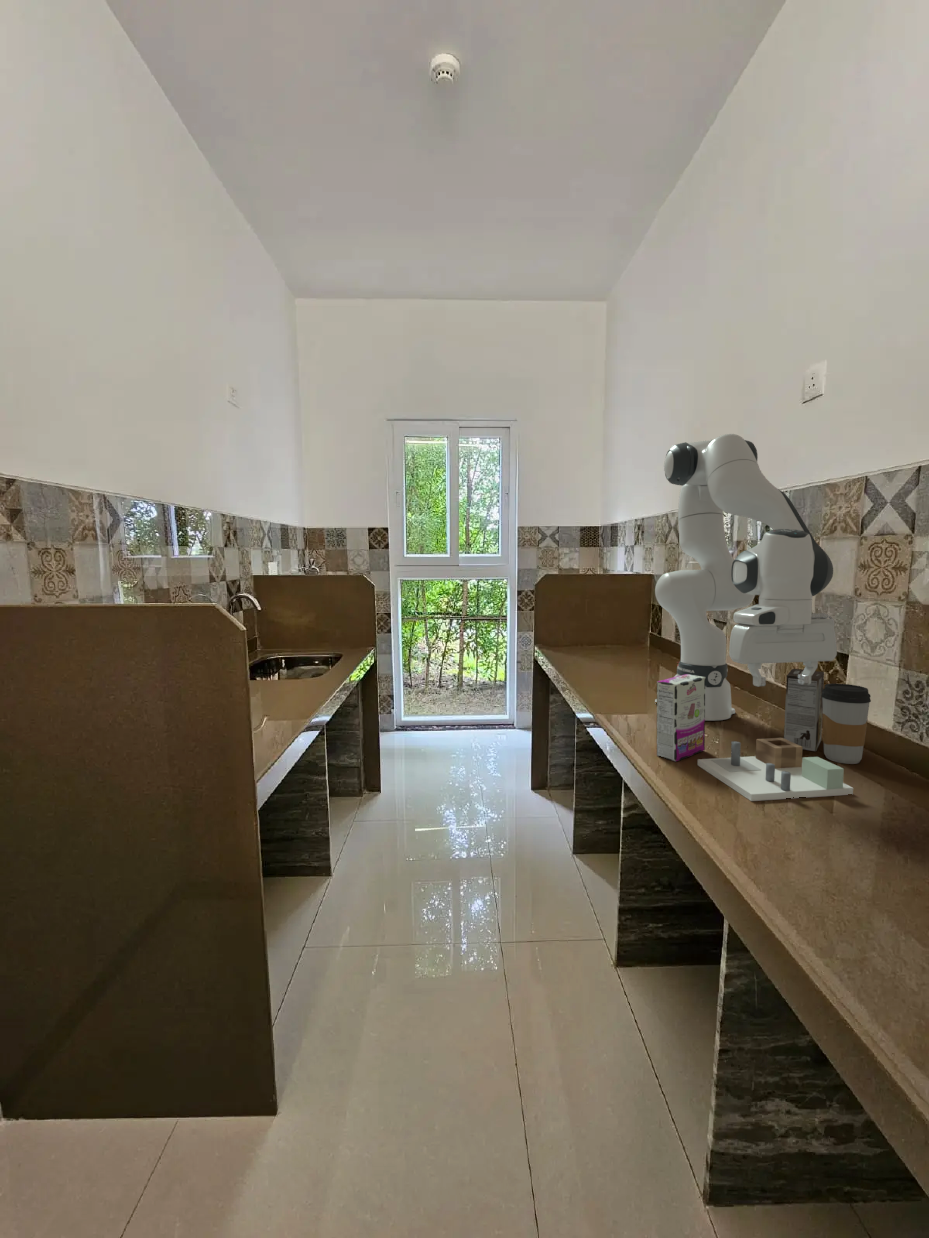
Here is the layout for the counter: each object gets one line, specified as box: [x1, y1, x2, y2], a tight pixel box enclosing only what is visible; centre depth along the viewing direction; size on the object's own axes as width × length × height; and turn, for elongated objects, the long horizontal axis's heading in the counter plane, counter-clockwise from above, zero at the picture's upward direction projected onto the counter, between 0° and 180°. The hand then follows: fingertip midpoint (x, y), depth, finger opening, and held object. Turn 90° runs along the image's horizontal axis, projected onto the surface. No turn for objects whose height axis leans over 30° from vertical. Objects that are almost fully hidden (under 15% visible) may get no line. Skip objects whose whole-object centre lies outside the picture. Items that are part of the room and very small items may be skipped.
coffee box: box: [783, 668, 825, 752], centre depth 120 cm, size 9×6×16 cm
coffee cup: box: [821, 683, 872, 765], centre depth 110 cm, size 8×8×15 cm
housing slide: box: [802, 756, 845, 789], centre depth 96 cm, size 6×3×4 cm, turn 6°
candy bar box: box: [656, 674, 706, 762], centre depth 115 cm, size 11×5×16 cm, turn 126°
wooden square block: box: [755, 737, 803, 769], centre depth 106 cm, size 6×6×4 cm
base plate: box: [697, 740, 854, 802], centre depth 101 cm, size 17×19×6 cm
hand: (781, 684), depth 105 cm, fingers open, 8 cm apart
